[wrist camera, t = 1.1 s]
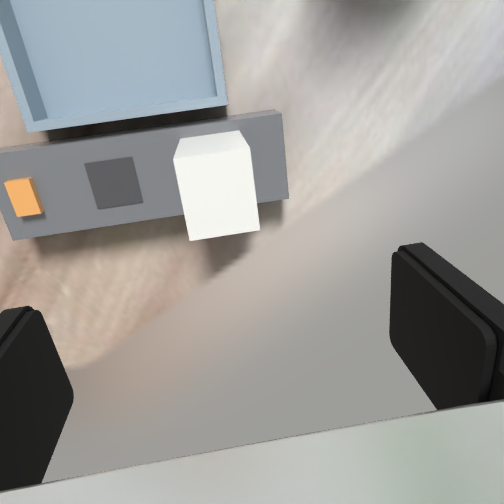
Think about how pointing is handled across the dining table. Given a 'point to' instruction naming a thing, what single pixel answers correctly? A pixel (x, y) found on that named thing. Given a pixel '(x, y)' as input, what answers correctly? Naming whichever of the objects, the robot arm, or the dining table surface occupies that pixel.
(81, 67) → the tray
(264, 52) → the dining table surface
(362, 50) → the dining table surface
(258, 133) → the strip
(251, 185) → the block
